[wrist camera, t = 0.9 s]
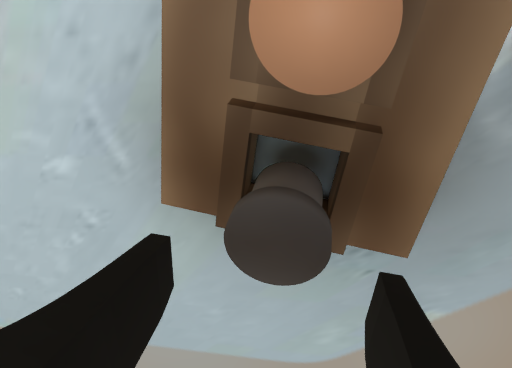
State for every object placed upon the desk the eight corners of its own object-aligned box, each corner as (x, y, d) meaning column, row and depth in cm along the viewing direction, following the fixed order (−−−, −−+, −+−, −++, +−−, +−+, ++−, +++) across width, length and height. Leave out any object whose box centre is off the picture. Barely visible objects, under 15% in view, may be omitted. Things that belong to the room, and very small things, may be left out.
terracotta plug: (404, -52, 11) (426, -57, 8) (368, 74, 13) (376, 106, 10) (279, -71, 11) (259, -81, 8) (262, 54, 13) (240, 81, 10)
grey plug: (342, 163, 15) (343, 212, 12) (322, 236, 16) (318, 295, 14) (250, 144, 15) (229, 188, 12) (240, 218, 17) (219, 272, 14)
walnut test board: (739, -578, 8) (902, -797, 6) (389, 261, 21) (395, 300, 18) (196, -589, 9) (147, -779, 7) (175, 213, 22) (154, 244, 19)
